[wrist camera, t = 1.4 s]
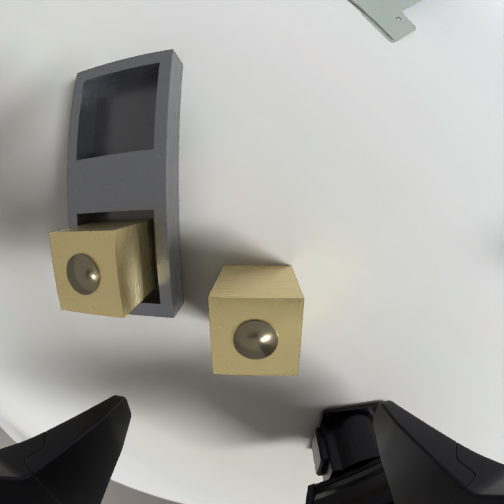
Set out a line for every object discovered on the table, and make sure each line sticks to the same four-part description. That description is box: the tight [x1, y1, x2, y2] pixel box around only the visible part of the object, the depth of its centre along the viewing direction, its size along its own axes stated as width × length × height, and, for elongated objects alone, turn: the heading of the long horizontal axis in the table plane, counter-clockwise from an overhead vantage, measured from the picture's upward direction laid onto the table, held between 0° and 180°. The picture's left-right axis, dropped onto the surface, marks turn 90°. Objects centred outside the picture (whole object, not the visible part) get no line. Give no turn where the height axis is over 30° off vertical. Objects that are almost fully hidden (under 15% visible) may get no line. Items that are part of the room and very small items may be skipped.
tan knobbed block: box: [208, 265, 304, 376], centre depth 16 cm, size 4×4×6 cm
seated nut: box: [49, 218, 159, 318], centre depth 16 cm, size 4×4×6 cm
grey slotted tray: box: [68, 49, 184, 318], centre depth 17 cm, size 8×17×2 cm, turn 0°
